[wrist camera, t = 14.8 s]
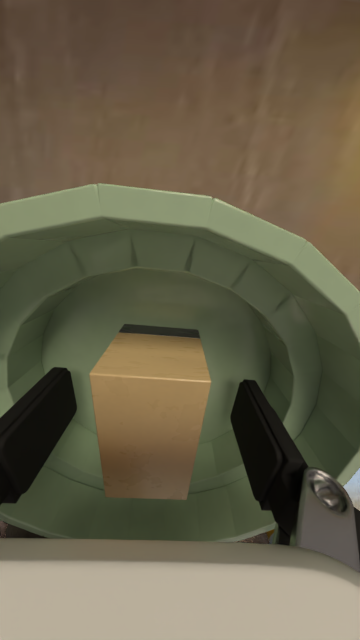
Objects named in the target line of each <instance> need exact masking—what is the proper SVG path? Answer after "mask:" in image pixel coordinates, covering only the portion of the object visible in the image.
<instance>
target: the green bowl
mask: <svg viewBox="0 0 360 640" xmlns="http://www.w3.org/2000/svg"><path fill="white" fill-rule="evenodd" d="M124 324H134V325H146V326H159V327H171V328H184V329H196V330H198V331H199V335H200V339H201V343H202V347H203V351H204V355H205V359H206V363H207V367H208V371H209V374H210V378H211V386H210V391H209V396H208V401H207V406H206V410H205V415H204V420H203V425H202V429H201V434H200V439H199V444H198V448H197V453H196V458H195V463H194V468H193V472H192V477H191V482H190V487H189V491H188V496H187V499H186V500H176V499H145V498H113V497H105V490H104V483H103V475H102V467H101V460H100V452H99V445H98V437H97V430H96V422H95V415H94V407H93V400H92V392H91V385H90V377H89V374H90V372H91V370H92V369H93V368H94V366H95V365H96V363H97V362H98V361H99V359H100V358H101V356H102V355H103V353H104V352H105V351H106V349H107V348H108V346H109V345H110V344H111V342H112V341H113V339H114V338H115V336H116V335H117V334H118V333H119V331H120V329H121V328H122V326H123V325H124ZM53 367H63V368H67V369H68V371H70V372H71V377H72V382H73V388H74V393H75V398H76V404H77V411H76V413H75V415H74V417H73V418H72V420H71V422H70V423H69V425H68V426H67V428H66V430H65V431H64V433H63V435H62V436H61V438H60V439H59V441H58V443H57V444H56V446H55V448H54V449H53V451H52V452H51V454H50V456H49V457H48V459H47V460H46V462H45V464H44V465H43V467H42V469H41V470H40V472H39V473H38V475H37V477H36V478H35V480H34V482H33V483H32V485H31V486H30V488H29V489H28V491H27V492H26V493H24V494H22V495H21V497H20V498H19V500H18V501H17V503H16V504H13V503H2V504H1V505H0V521H2V520H3V522H5V523H8V524H11V525H13V526H16V527H19V528H22V529H24V530H27V531H30V532H32V533H35V534H38V535H40V536H44V537H47V538H51V539H111V540H163V541H204V542H235V541H240V540H244V539H247V538H250V537H253V536H256V535H259V534H261V533H264V532H267V531H270V530H273V529H275V524H276V522H275V520H274V517H273V514H272V512H271V511H263V510H261V507H260V504H259V501H256V500H255V498H254V496H253V493H252V490H251V486H250V483H249V480H248V476H247V473H246V470H245V467H244V463H243V460H242V457H241V454H240V450H239V447H238V444H237V441H236V437H235V434H234V431H233V428H232V424H231V420H230V415H231V412H232V408H233V405H234V401H235V398H236V394H237V391H238V387H239V384H240V382H243V380H244V379H248V380H255V381H256V382H257V384H258V386H259V387H260V389H261V391H262V392H263V394H264V396H265V397H266V399H267V401H268V402H269V404H270V406H271V407H272V408H273V409H274V410H275V412H276V413H277V415H278V417H279V418H280V420H281V422H282V423H283V425H284V427H285V428H286V430H287V432H288V433H289V435H290V437H291V438H292V440H293V442H294V443H295V445H296V446H297V448H298V450H299V451H300V453H301V455H302V456H303V458H304V460H305V461H306V463H307V465H308V466H309V467H316V468H320V469H322V470H324V471H326V472H327V473H329V474H330V475H331V476H333V477H334V478H335V479H336V480H337V481H338V482H339V483H340V484H341V485H342V486H344V485H345V484H347V482H348V481H349V480H350V479H351V478H352V476H353V475H354V474H355V473H356V472H357V470H358V469H359V468H360V292H359V291H358V290H357V289H356V288H355V287H354V286H353V285H352V284H351V283H350V282H349V281H348V280H347V279H346V278H345V277H344V276H343V275H342V274H341V273H340V272H339V271H338V270H337V269H336V268H335V267H334V266H333V265H332V264H331V263H330V262H329V261H328V260H327V259H326V258H325V257H324V256H323V255H322V254H321V253H320V252H319V251H318V250H317V249H316V248H315V247H314V246H313V245H312V244H311V243H310V242H307V241H306V240H305V239H304V238H302V237H300V236H298V235H296V234H293V233H291V232H289V231H287V230H285V229H282V228H280V227H278V226H276V225H274V224H272V223H269V222H267V221H265V220H263V219H261V218H259V217H256V216H254V215H252V214H250V213H248V212H246V211H243V210H241V209H239V208H237V207H235V206H233V205H230V204H228V203H226V202H224V201H222V200H220V199H217V198H213V199H212V197H211V196H207V195H199V194H190V193H181V192H173V191H164V190H155V189H147V188H138V187H130V186H121V185H112V184H104V183H99V184H98V185H96V184H90V185H86V186H81V187H76V188H71V189H67V190H62V191H57V192H52V193H48V194H43V195H38V196H33V197H29V198H24V199H19V200H15V201H10V202H5V203H0V417H2V416H3V415H4V414H5V413H6V412H7V411H8V410H9V409H10V408H11V407H12V406H13V405H14V404H15V403H16V402H17V401H18V400H19V399H20V398H21V397H22V396H24V395H25V394H26V393H27V392H28V391H29V390H30V389H31V388H32V387H33V386H34V385H35V384H36V383H37V382H38V381H39V380H40V379H41V378H42V377H43V376H44V375H46V374H47V373H48V372H49V371H50V370H51V369H52V368H53Z"/></svg>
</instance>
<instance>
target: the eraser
mask: <svg viewBox="0 0 360 640" xmlns="http://www.w3.org/2000/svg"><path fill="white" fill-rule="evenodd" d="M89 377H90V385H91V392H92V400H93V407H94V415H95V422H96V430H97V437H98V445H99V452H100V460H101V467H102V475H103V483H104V490H105V497H113V498H145V499H176V500H186V499H187V496H188V491H189V487H190V482H191V477H192V472H193V468H194V463H195V458H196V453H197V448H198V444H199V439H200V434H201V429H202V425H203V420H204V415H205V410H206V406H207V401H208V396H209V391H210V386H211V378H210V374H209V371H208V367H207V363H206V359H205V355H204V351H203V347H202V343H201V339H200V335H199V331H198V330H196V329H184V328H171V327H159V326H146V325H134V324H124V325H123V326H122V328H121V329H120V331H119V333H118V334H117V335H116V336H115V338H114V339H113V341H112V342H111V344H110V345H109V346H108V348H107V349H106V351H105V352H104V353H103V355H102V356H101V358H100V359H99V361H98V362H97V363H96V365H95V366H94V368H93V369H92V370H91V372H90V374H89Z"/></svg>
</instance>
